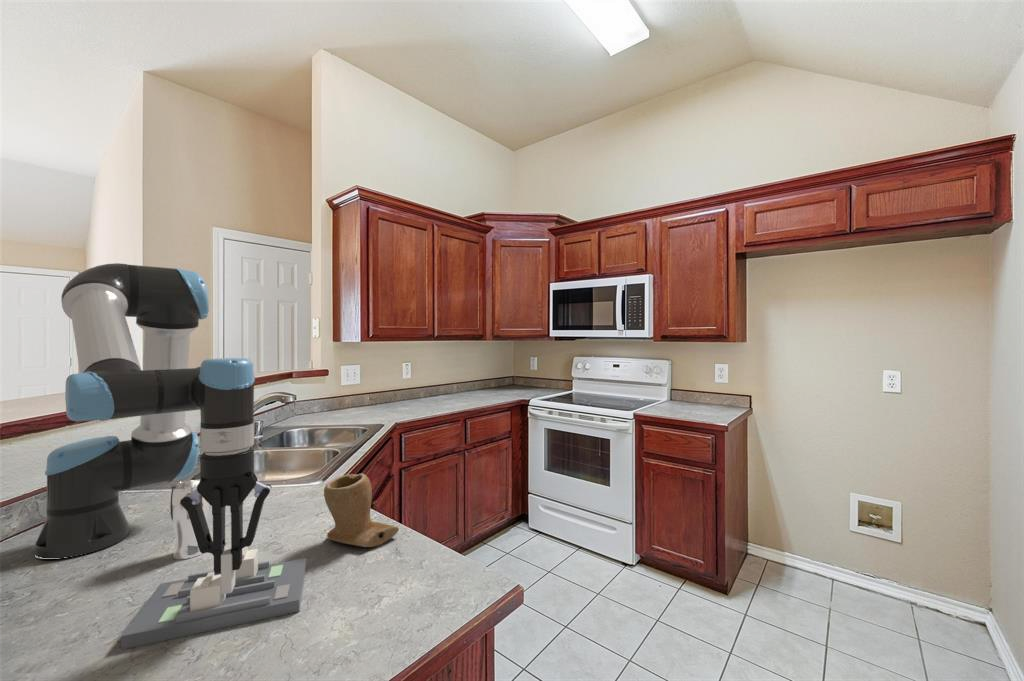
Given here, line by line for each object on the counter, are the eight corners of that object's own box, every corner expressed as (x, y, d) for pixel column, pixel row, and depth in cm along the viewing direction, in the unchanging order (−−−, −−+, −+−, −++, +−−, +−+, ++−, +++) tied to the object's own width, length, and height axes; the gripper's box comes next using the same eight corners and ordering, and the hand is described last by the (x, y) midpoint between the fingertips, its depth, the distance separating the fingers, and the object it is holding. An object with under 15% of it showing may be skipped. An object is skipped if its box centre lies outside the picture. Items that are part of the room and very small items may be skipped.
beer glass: (217, 547, 95) (217, 480, 95) (184, 563, 89) (184, 491, 89) (196, 542, 98) (195, 477, 98) (162, 557, 91) (162, 487, 91)
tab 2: (228, 584, 77) (228, 558, 77) (233, 573, 81) (233, 548, 81) (253, 580, 78) (253, 554, 78) (258, 569, 82) (257, 544, 82)
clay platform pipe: (312, 545, 96) (312, 479, 96) (353, 524, 107) (352, 465, 107) (362, 560, 90) (361, 489, 90) (400, 537, 100) (400, 473, 100)
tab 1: (190, 616, 68) (190, 586, 68) (198, 601, 72) (197, 573, 72) (219, 610, 70) (219, 580, 70) (225, 596, 73) (225, 568, 73)
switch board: (121, 649, 64) (120, 629, 64) (160, 594, 78) (160, 577, 78) (299, 611, 73) (299, 593, 73) (306, 567, 87) (306, 553, 87)
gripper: (172, 459, 66) (172, 611, 66) (268, 451, 71) (268, 593, 71) (188, 448, 73) (189, 585, 73) (275, 441, 78) (275, 570, 78)
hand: (228, 589), depth 72 cm, fingers closed
